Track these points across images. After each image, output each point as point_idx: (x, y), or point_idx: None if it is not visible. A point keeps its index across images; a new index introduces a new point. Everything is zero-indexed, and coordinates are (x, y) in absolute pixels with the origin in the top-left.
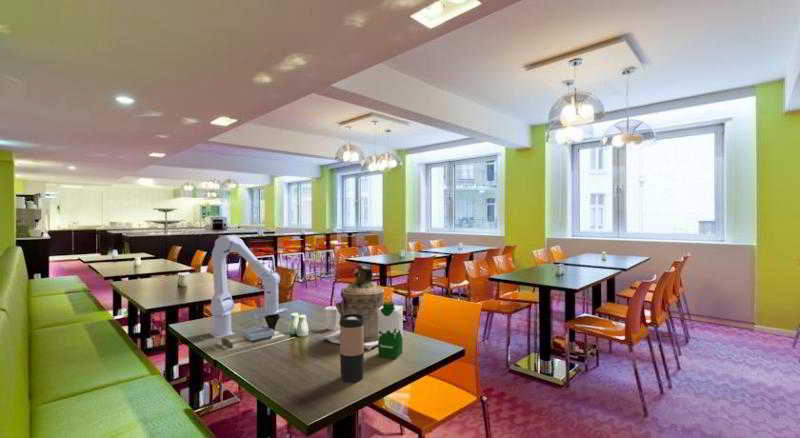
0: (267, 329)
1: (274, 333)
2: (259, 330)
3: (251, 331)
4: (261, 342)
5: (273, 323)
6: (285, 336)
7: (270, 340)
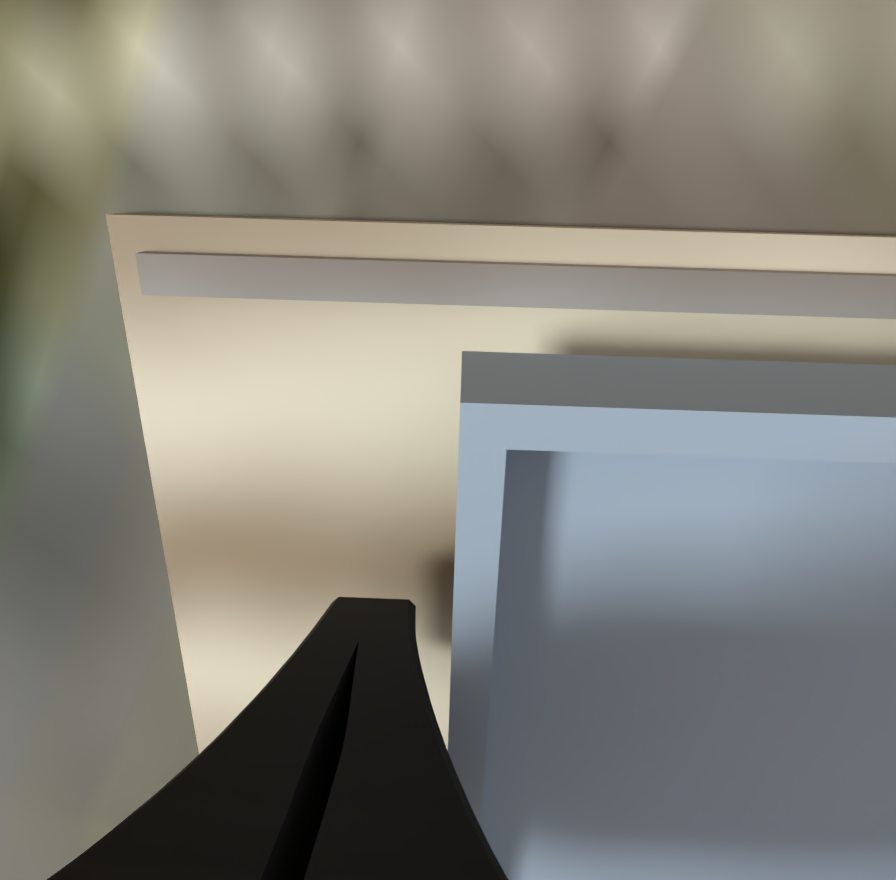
0: (488, 738)
1: (290, 654)
2: (693, 796)
3: (877, 851)
4: (883, 267)
5: (300, 822)
6: (154, 251)
7: (625, 243)
